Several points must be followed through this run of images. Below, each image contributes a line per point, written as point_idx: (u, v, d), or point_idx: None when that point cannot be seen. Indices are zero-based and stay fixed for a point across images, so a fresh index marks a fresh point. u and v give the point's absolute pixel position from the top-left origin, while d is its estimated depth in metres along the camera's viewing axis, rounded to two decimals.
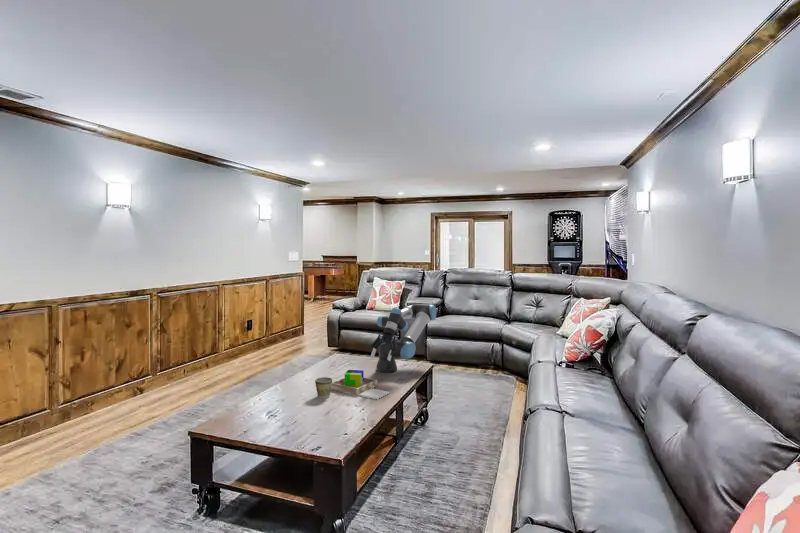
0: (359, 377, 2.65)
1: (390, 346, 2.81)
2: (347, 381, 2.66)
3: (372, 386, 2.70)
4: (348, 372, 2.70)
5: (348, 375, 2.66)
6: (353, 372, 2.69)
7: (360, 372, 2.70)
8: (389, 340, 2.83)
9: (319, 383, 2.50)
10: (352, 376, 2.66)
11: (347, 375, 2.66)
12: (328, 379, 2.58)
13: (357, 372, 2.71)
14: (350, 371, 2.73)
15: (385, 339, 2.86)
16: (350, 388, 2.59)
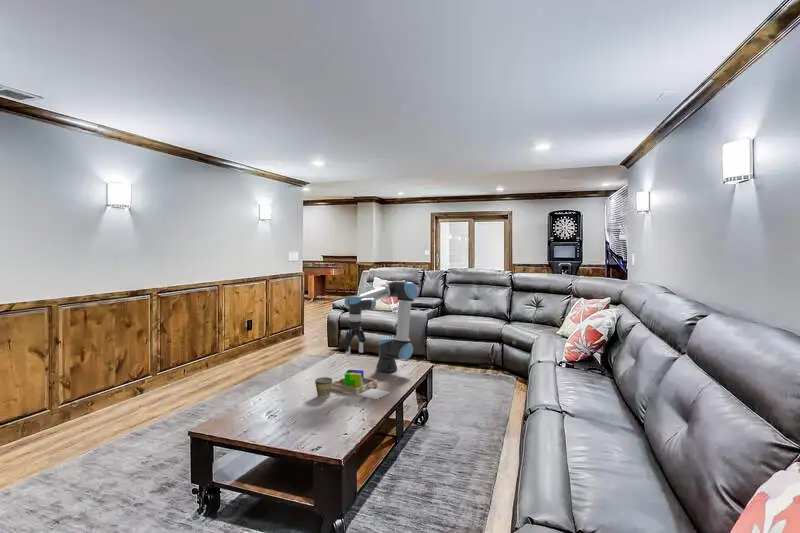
0: (359, 377, 2.65)
1: None
2: (347, 381, 2.66)
3: (372, 386, 2.70)
4: (348, 372, 2.70)
5: (348, 375, 2.66)
6: (353, 372, 2.69)
7: (360, 372, 2.70)
8: None
9: (319, 383, 2.50)
10: (352, 376, 2.66)
11: (347, 375, 2.66)
12: (328, 379, 2.58)
13: (357, 372, 2.71)
14: (350, 371, 2.73)
15: None
16: (350, 388, 2.59)
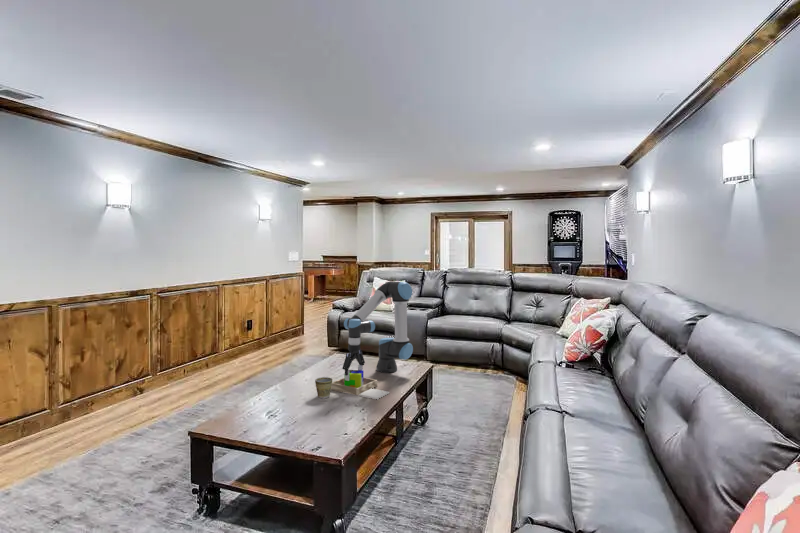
0: (359, 377, 2.65)
1: None
2: (347, 381, 2.66)
3: (372, 386, 2.70)
4: None
5: None
6: (353, 372, 2.69)
7: (360, 372, 2.70)
8: None
9: (319, 383, 2.50)
10: (352, 376, 2.66)
11: None
12: (328, 379, 2.58)
13: (357, 372, 2.70)
14: (350, 371, 2.73)
15: None
16: (350, 388, 2.59)
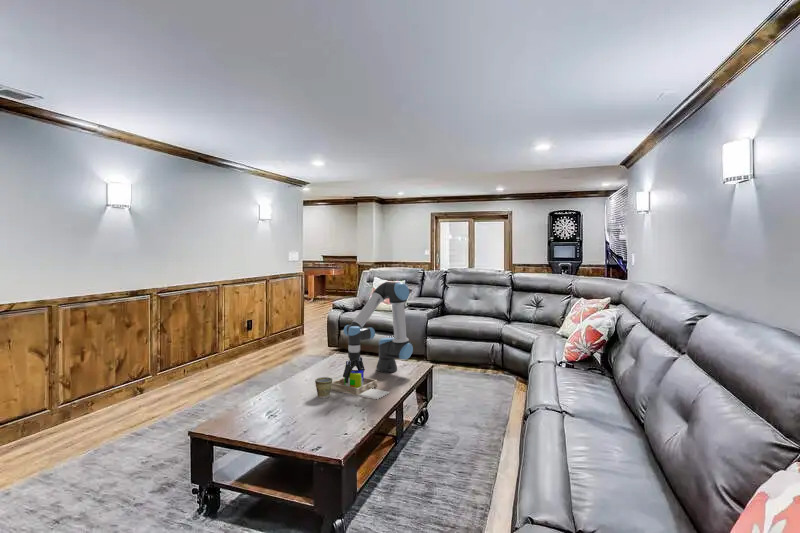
0: (359, 377, 2.65)
1: None
2: None
3: (372, 386, 2.70)
4: None
5: None
6: (353, 372, 2.69)
7: (360, 372, 2.70)
8: None
9: (319, 383, 2.50)
10: (352, 376, 2.66)
11: None
12: (328, 379, 2.58)
13: (357, 372, 2.71)
14: None
15: None
16: (350, 388, 2.59)
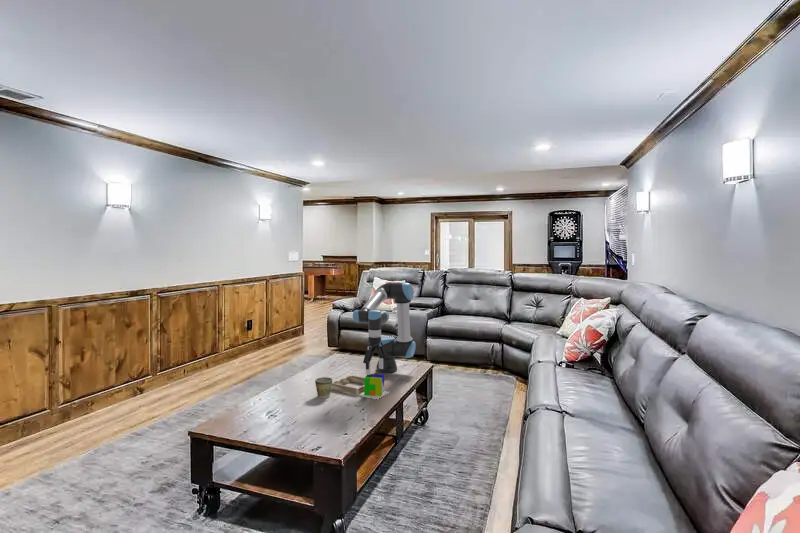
0: (379, 382, 2.52)
1: None
2: (367, 385, 2.54)
3: None
4: (368, 376, 2.58)
5: (368, 379, 2.53)
6: (373, 377, 2.57)
7: (381, 376, 2.57)
8: None
9: (319, 383, 2.50)
10: (372, 380, 2.53)
11: (367, 380, 2.54)
12: (328, 379, 2.58)
13: (377, 376, 2.58)
14: (371, 375, 2.60)
15: None
16: (350, 388, 2.59)
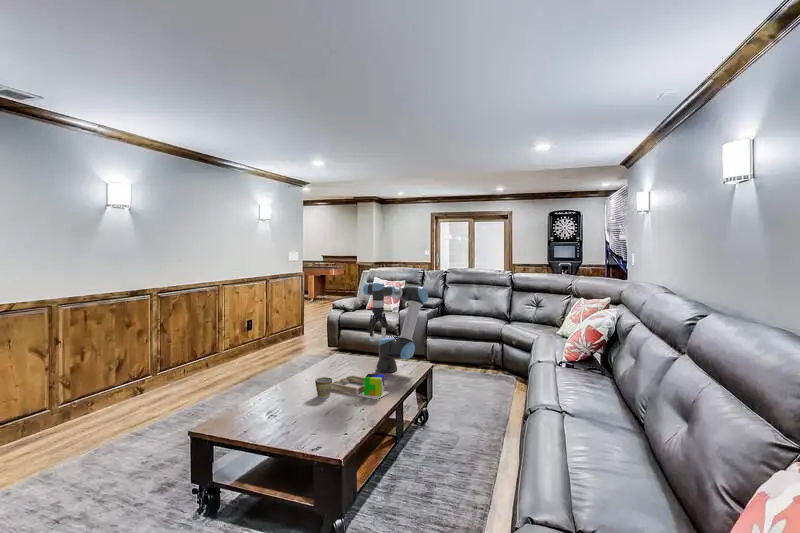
0: (379, 382, 2.52)
1: None
2: (367, 385, 2.54)
3: None
4: (368, 376, 2.58)
5: (368, 379, 2.53)
6: (373, 377, 2.57)
7: (380, 376, 2.57)
8: None
9: (319, 383, 2.50)
10: (372, 380, 2.53)
11: (367, 380, 2.54)
12: (328, 379, 2.58)
13: (377, 376, 2.58)
14: (371, 375, 2.61)
15: None
16: (350, 388, 2.59)
